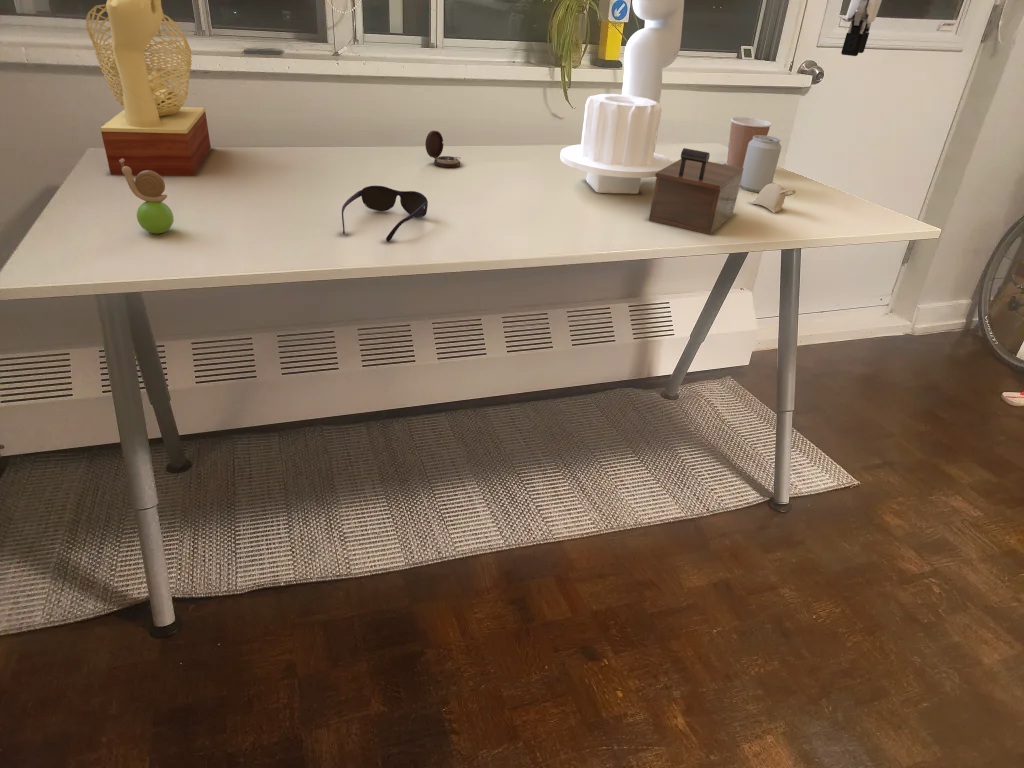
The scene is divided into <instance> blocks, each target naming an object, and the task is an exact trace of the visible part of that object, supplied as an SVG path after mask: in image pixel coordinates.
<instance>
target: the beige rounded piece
mask: <svg viewBox="0 0 1024 768" xmlns="http://www.w3.org/2000/svg"><path fill="white" fill-rule="evenodd" d="M794 194H796V190H795V189H791V188H789V189H784V187H783V186H782V185H781V184H779V183H775V182H772V183H770V184H768V185H766V186H765V187H764V188H763V189H762V190H761V191H760V192H758V195H757V197H756V200H754V201H753V202H752V205H760V206H763V207H764V208H766V209H768V210H769V211H770V212H772V213H774V214H775V213H777V212H779V211H781V210H783V208H782V206H783V204H784V203H785V199H786V197H789V196H793V195H794Z"/></svg>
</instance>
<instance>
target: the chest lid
mask: <svg viewBox="0 0 1024 768" xmlns="http://www.w3.org/2000/svg"><path fill="white" fill-rule="evenodd" d="M710 157H711V156H710V152H708V151H707V152H706V151H702V150H698V149H691V148H685V147H684V148H682V150H681V153H680V159H678V160H676V161H675V162H672V164H671V165H669V166H667V167H665V168H664V169H662V170H660V171H658V172H656V175H655V177H654V178H656V177H659V178H663V179H668V180H673V181H678V182H683V183H688V184H693V185H697V186H702V187H707V188H712V189H717V190H720V189H721V188H723V187H724V186H725V185H726V184H728V183H729V182H730V181H732V180H733V179H734V178H736V177H737V176H738V175H740V174H741V173H742V172H743V170H744V168H740V167H734V166H729V165H727V164H723V163H718V162H712V161H710Z"/></svg>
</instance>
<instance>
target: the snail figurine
mask: <svg viewBox="0 0 1024 768" xmlns="http://www.w3.org/2000/svg"><path fill="white" fill-rule="evenodd" d="M124 161H125V160H124V159H123V158H122V159H121V160H119V162H120V163H121V166H122V163H123V162H124ZM123 166H124V164H123ZM122 173H123V174H124V178H125V180H126V183H127V185H128V188H129V189H130V191H131V192H132V193H133V194H134V196H136V197H137V198H138V199H140V200H142V201H144V202H142V203H141V204H140V205H139V207H138V208H137V211H136V219H137V222H138V224H139V227H141V228H142V229H143V230H144V231H146V232H148V233H151V234H154V235H155V234H163V233H166V232H167V231H169V230H170V229H171V227H172V226H173V223H174V214H173V211H172V209H171V208H170V206H168V205H167V204H166V203H164V202H163V201H165V200H166V199H167V198H168V195H167V194H163V193H164V192H165V190H166V183H165V181H164V178H163V177H162V175H159V174H158V173H156V172H154V171H150V170H145V171H142V172H140V173H139V174H138V175H136V177H135V178H134V175H132V170H131V168H130V167H128V166H124V167H122Z"/></svg>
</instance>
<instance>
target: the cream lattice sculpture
mask: <svg viewBox="0 0 1024 768" xmlns="http://www.w3.org/2000/svg"><path fill="white" fill-rule="evenodd" d="M103 7H104V8H103ZM98 9H100V10H101V11H100V12H98V13H97V10H98ZM105 12H106V13H107V17H105V16H103V15H102V14H103V13H105ZM95 17H96V19H95ZM100 18H103V19H104V20H102V21H101V22H99V21H100ZM94 19H95V20H96V21H95V20H94ZM163 21H164V22H163ZM85 22H86V25H85V28H86V31H87V35H88V37H89V38H90V40H91V42H92V47H93V48H94V54H95V55H96V60H97V63H98V64H99V68H100V69H101V71H100V72H101V73H102V74H103V78H104V79H105V80H106V84H107V85H109V90H110V91H112V96H113V97H114V98H115V101H117V102H118V103H120V105H121V106H122V107H123V108H124V109H122V110H121V111H120V112H119V113H117V114H116V115H115V116H113V117H112V118H111V119H110V120H109V121H107V122H106V123H104V124H103V125H102V126H101V127H100V132H101V133H100V134H101V137H102V143H103V146H104V150H105V155H106V159H107V164H108V168H109V173H110V175H117V176H118V175H124V174H123V173H122V167H124V166H128V167H130V168H131V170H132V176H137V175H138V174H139V173H140V172H142V171H145V170H150V171H154V172H156V173H158V174H159V175H160V176H195V175H196V173H197V171H198V170H199V168H200V166H201V165H202V164H203V162H204V161H205V159H206V158H207V155H208V154H209V152H210V151H211V149H212V147H211V141H210V133H209V127H208V126H209V125H208V121H207V120H208V119H207V113H206V107H197V106H195V107H193V106H184V104H185V102H186V100H187V98H188V97H187V96H188V94H189V92H188V90H189V85H190V78H191V70H192V49H191V47H190V44H189V42H188V40H187V38H186V35H185V34H184V33H183V31H182V29H181V27H180V26H179V24H178V23H176V22H175V21H174V20H173V19H172V18H170V17H169V16H168V15H166V14H165V13H164V11H163V7H162V0H106V3H105V4H98V5H95V6H93V7H92V8H91V10H89V11H88V12H87V15H86V18H85ZM107 22H109V26H106V25H105V24H106V23H107ZM93 24H94V28H93ZM98 25H99V27H98ZM161 26H162V27H163V28H164V29H165V30H166V31H167V32H164V31H163V30H162V28H161ZM167 26H168V27H169V28H168V27H167ZM103 27H104V28H105V30H103V31H102V28H103ZM97 28H98V30H97ZM92 31H93V32H92ZM109 31H110V32H111V33H110V35H109V34H107V33H108V32H109ZM159 32H160V33H159ZM96 33H97V35H96ZM100 34H101V36H100ZM104 35H105V36H107V37H106V38H104V37H105V36H104ZM169 35H171V36H172V37H171V36H169ZM161 36H165V37H166V38H168V40H166V39H164V38H163V37H161ZM99 37H100V38H99ZM155 37H157V38H158V39H160V40H159V41H157V40H156V39H154V38H155ZM177 37H178V38H179V39H181V40H179V39H178V38H177ZM110 39H111V41H108V40H110ZM182 42H183V43H182ZM103 50H104V51H103ZM174 50H175V51H174ZM109 51H110V52H109ZM163 77H164V78H163ZM169 80H171V81H169ZM174 83H176V84H174ZM169 86H170V87H169ZM175 89H176V90H175ZM122 158H123V159H124V160H125V161H124V162H123V163H122V166H121V163H120V162H119V160H121V159H122ZM123 164H124V166H123ZM124 176H125V175H124Z"/></svg>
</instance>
